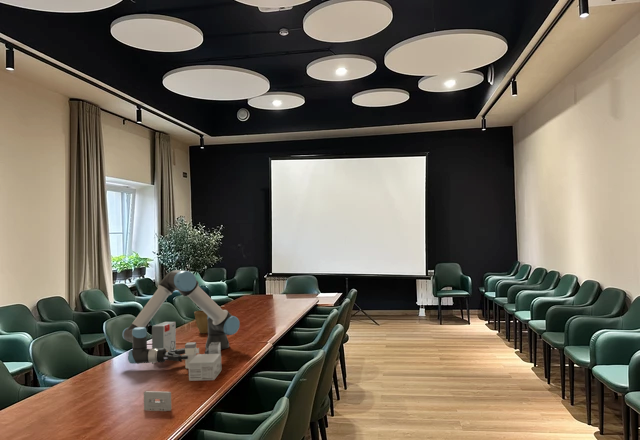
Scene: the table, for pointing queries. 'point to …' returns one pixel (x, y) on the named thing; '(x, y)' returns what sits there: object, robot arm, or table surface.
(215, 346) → the grey boxy device
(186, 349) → the white and grey box
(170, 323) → the hard drive box
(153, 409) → the cassette
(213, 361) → the supplement box
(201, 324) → the plant pot
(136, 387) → the table surface
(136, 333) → the robot arm
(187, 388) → the table surface
